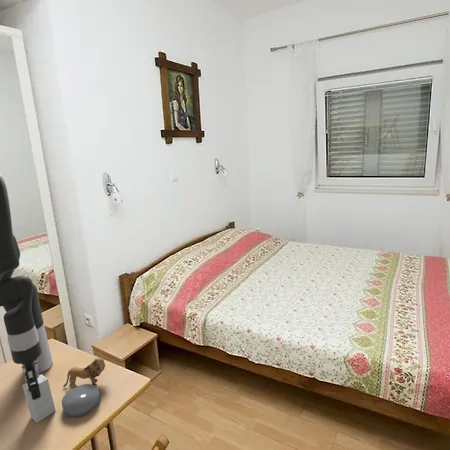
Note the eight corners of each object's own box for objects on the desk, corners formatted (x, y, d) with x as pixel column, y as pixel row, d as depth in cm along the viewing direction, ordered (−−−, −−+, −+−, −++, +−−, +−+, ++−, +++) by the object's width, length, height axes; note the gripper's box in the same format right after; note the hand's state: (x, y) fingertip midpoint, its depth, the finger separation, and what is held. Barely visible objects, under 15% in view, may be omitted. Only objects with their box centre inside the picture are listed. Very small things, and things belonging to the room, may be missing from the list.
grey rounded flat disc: (61, 401, 112) (59, 393, 111) (96, 386, 118) (94, 379, 117) (66, 423, 103) (64, 415, 102) (103, 407, 109) (102, 399, 108)
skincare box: (49, 405, 111) (42, 373, 108) (56, 411, 108) (48, 378, 105) (30, 417, 107) (21, 384, 103) (36, 424, 104) (27, 390, 101)
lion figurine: (108, 374, 123) (104, 353, 121) (107, 384, 118) (102, 362, 116) (65, 383, 121) (60, 361, 118) (61, 393, 116) (56, 371, 113)
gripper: (9, 336, 105) (21, 382, 109) (9, 359, 93) (22, 410, 97) (37, 328, 108) (47, 372, 112) (40, 349, 97) (52, 398, 100)
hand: (36, 389), depth 105 cm, fingers open, 8 cm apart
